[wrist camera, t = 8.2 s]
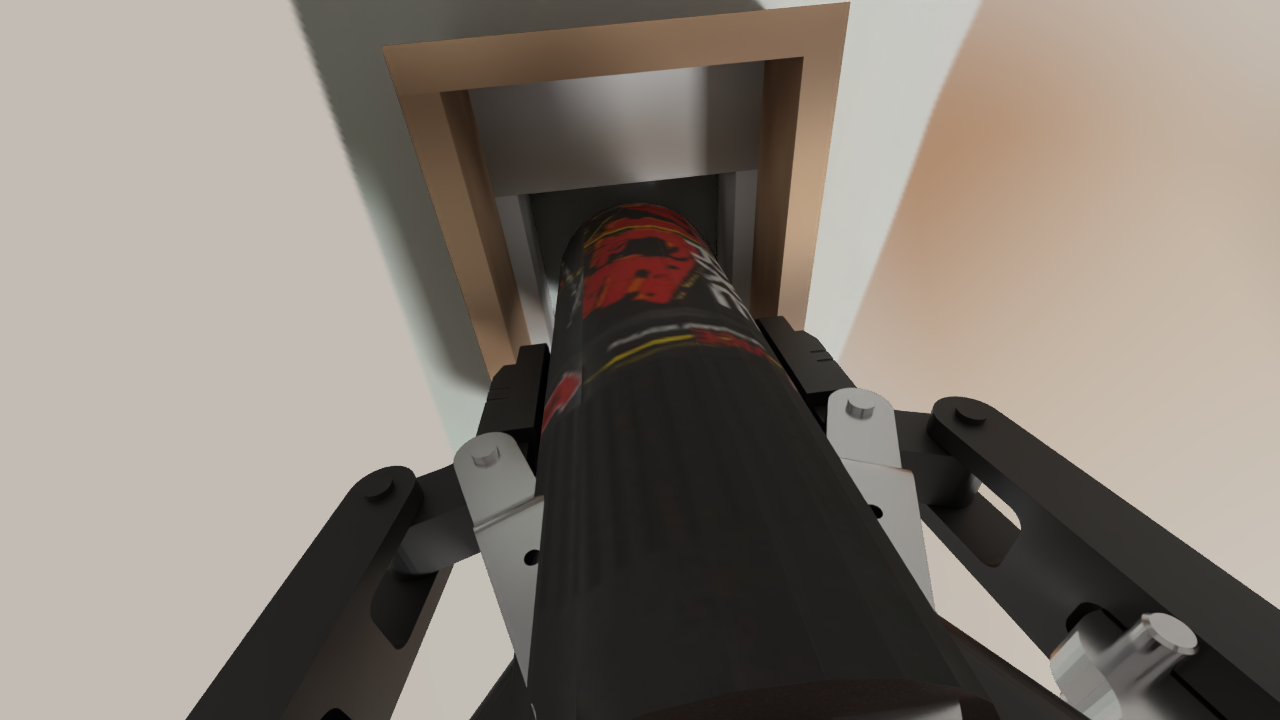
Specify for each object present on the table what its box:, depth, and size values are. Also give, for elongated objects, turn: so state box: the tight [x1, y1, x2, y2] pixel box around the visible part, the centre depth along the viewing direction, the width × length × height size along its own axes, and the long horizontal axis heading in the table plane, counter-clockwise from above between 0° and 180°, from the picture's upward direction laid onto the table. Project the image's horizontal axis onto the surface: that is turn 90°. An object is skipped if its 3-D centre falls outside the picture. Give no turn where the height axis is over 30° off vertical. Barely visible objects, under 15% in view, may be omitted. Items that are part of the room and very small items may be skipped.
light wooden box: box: [381, 2, 850, 382], centre depth 17 cm, size 16×11×6 cm
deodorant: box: [507, 202, 1000, 720], centre depth 12 cm, size 6×6×15 cm
